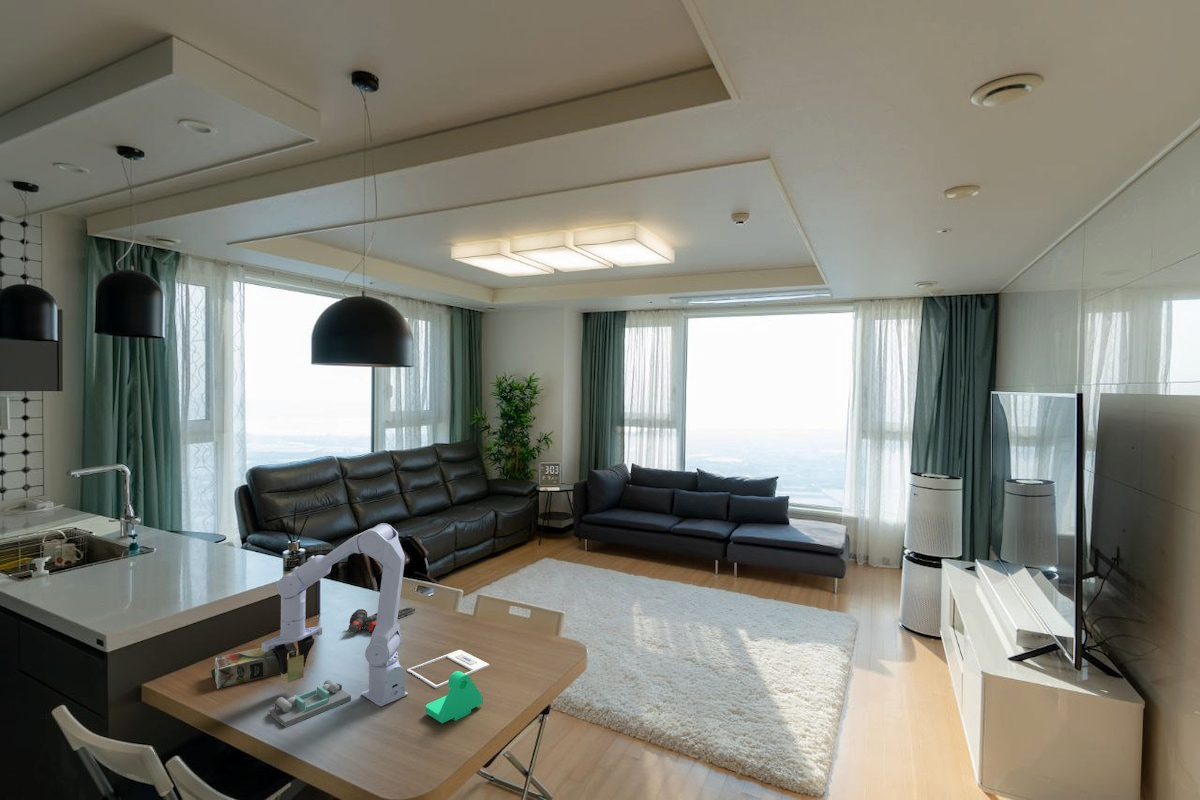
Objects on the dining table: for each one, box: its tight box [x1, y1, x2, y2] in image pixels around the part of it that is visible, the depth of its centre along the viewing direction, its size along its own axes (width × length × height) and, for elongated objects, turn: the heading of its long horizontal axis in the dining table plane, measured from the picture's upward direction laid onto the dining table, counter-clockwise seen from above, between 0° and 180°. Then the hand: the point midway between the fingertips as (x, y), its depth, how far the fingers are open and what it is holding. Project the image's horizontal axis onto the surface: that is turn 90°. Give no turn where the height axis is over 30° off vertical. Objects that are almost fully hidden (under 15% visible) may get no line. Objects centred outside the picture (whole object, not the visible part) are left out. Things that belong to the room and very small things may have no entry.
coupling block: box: [280, 650, 305, 684], centre depth 150 cm, size 4×4×7 cm
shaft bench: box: [268, 679, 352, 728], centre depth 143 cm, size 9×16×4 cm, turn 141°
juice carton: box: [210, 642, 298, 690], centre depth 160 cm, size 20×10×6 cm, turn 128°
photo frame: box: [406, 649, 490, 689], centre depth 165 cm, size 15×1×18 cm
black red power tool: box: [348, 606, 416, 635], centre depth 195 cm, size 6×26×15 cm
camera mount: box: [425, 670, 484, 724], centre depth 142 cm, size 12×8×10 cm, turn 140°
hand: (292, 669), depth 150 cm, fingers closed on coupling block, 4 cm apart
